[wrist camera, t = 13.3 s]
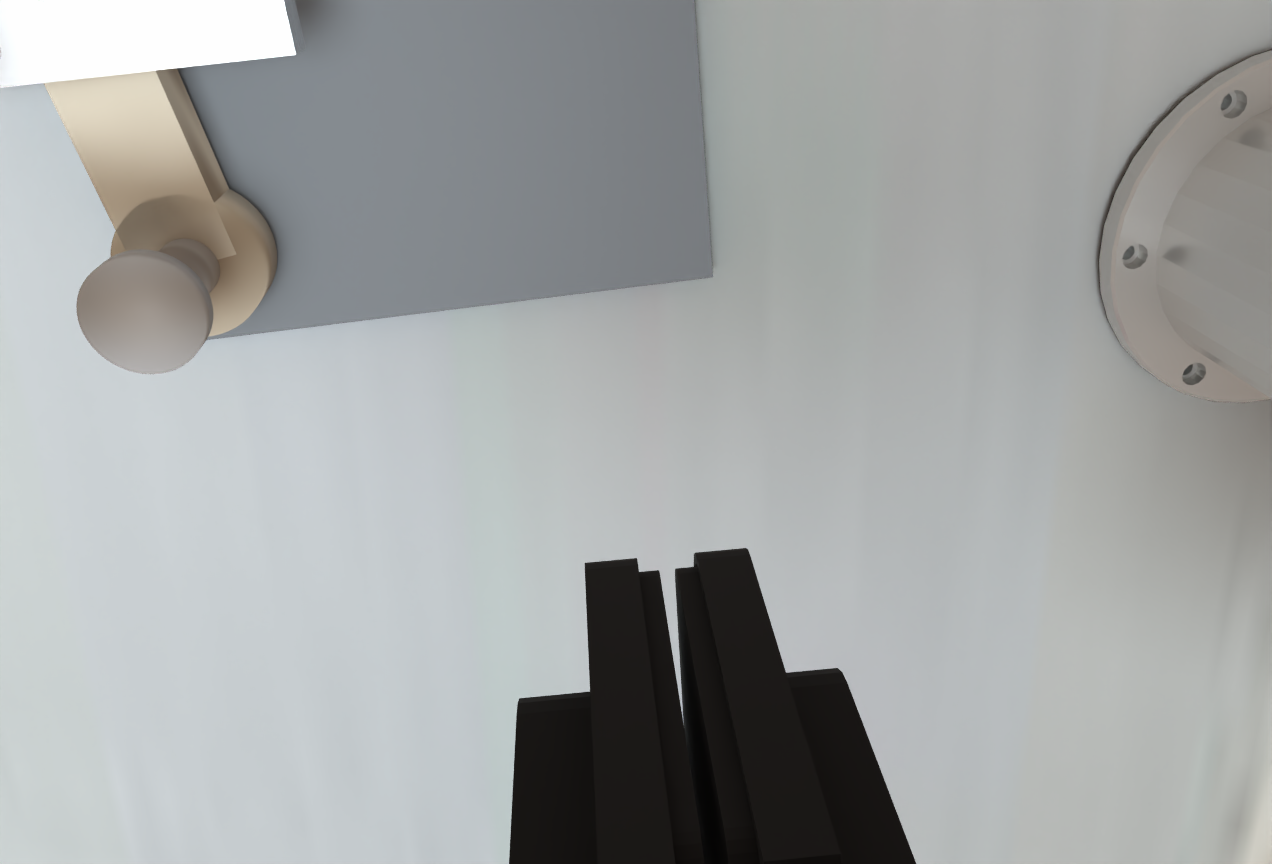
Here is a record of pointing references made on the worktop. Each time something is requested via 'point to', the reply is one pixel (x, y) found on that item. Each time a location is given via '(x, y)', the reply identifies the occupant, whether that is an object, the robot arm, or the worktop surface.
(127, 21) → the keeper
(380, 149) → the base plate
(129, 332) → the link
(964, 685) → the worktop surface
